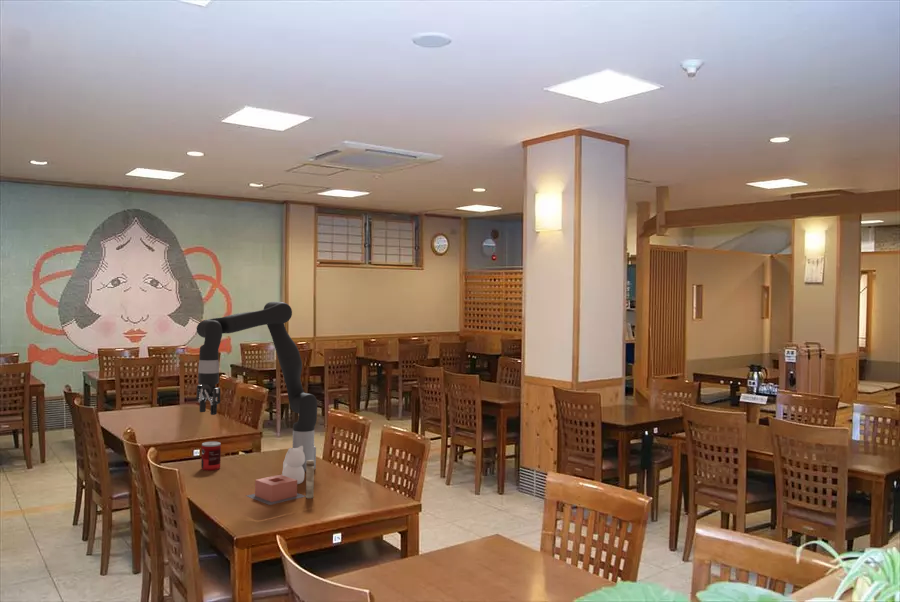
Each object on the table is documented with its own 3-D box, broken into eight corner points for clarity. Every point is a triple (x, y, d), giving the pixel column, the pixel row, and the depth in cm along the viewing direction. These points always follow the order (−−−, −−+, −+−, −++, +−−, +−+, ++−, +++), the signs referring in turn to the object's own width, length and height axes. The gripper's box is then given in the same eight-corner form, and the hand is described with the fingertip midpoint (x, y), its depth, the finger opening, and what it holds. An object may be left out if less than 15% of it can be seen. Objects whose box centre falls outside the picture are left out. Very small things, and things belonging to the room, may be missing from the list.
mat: (282, 488, 272) (282, 487, 272) (306, 497, 261) (306, 496, 261) (245, 496, 260) (245, 495, 260) (269, 505, 249) (269, 504, 249)
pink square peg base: (280, 490, 269) (280, 474, 269) (296, 496, 261) (297, 480, 261) (255, 495, 260) (255, 479, 260) (271, 502, 253) (271, 485, 253)
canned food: (206, 466, 306) (206, 441, 306) (223, 467, 305) (224, 442, 305) (197, 470, 298) (198, 444, 298) (215, 471, 297) (215, 445, 297)
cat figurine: (291, 488, 274) (292, 450, 274) (273, 481, 282) (274, 444, 282) (310, 483, 281) (311, 446, 281) (291, 477, 289) (292, 441, 289)
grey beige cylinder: (310, 496, 262) (311, 459, 262) (315, 498, 260) (315, 460, 260) (304, 498, 260) (304, 460, 260) (308, 500, 258) (309, 462, 258)
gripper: (227, 372, 268) (226, 414, 268) (208, 369, 278) (207, 410, 278) (208, 373, 262) (208, 416, 262) (190, 370, 272) (189, 412, 272)
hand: (207, 413), depth 270 cm, fingers open, 8 cm apart
